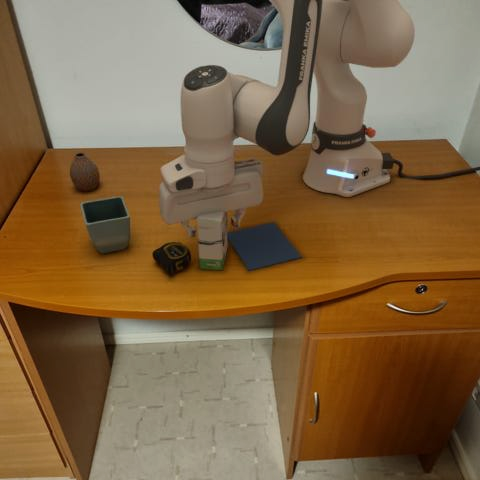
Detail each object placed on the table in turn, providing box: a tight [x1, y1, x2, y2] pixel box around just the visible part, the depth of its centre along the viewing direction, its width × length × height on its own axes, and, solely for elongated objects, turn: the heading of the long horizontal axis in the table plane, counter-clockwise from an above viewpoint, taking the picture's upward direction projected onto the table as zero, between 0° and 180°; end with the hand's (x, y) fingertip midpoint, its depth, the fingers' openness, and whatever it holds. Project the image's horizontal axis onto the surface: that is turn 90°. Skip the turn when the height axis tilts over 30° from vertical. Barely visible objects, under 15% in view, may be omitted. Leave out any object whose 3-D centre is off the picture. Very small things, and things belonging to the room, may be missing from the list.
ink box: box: [196, 211, 228, 271], centre depth 97 cm, size 9×5×12 cm, turn 173°
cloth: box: [227, 221, 303, 272], centre depth 104 cm, size 12×14×1 cm
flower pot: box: [79, 195, 131, 254], centre depth 101 cm, size 9×9×9 cm
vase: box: [69, 151, 101, 192], centre depth 118 cm, size 7×7×9 cm
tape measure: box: [152, 241, 192, 276], centre depth 98 cm, size 7×7×4 cm
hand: (213, 230), depth 97 cm, fingers open, 8 cm apart
